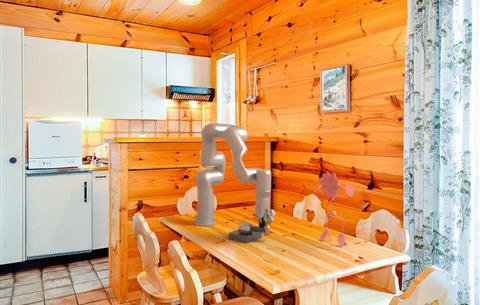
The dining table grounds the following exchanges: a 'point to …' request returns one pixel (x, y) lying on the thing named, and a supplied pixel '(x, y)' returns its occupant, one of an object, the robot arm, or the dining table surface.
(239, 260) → the dining table surface
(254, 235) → the base
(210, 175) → the robot arm
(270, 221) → the wrench
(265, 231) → the ball-ended lever handle
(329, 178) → the figurine
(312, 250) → the dining table surface
